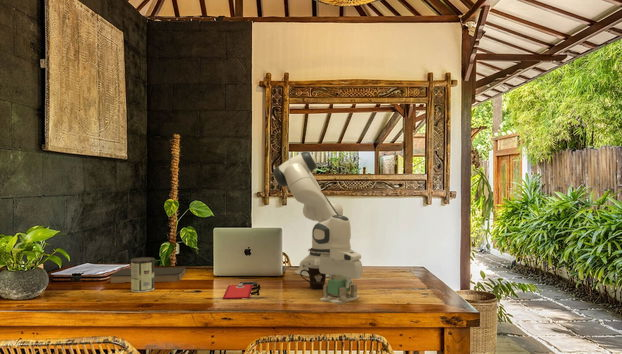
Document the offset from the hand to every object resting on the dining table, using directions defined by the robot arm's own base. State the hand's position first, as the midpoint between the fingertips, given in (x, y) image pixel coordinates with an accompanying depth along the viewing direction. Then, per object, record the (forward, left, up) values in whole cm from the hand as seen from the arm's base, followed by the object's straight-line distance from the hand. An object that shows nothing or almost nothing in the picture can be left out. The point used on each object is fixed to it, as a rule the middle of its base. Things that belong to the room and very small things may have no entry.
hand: (340, 286), depth 202 cm
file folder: (-102, -25, -6) cm, 105 cm away
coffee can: (-80, -43, -6) cm, 91 cm away
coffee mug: (-21, +9, -6) cm, 23 cm away
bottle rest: (0, 0, -5) cm, 5 cm away
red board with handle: (-43, -15, -6) cm, 46 cm away
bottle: (0, +2, -2) cm, 3 cm away
